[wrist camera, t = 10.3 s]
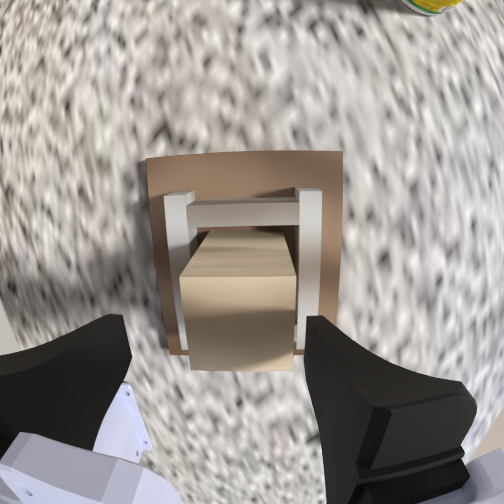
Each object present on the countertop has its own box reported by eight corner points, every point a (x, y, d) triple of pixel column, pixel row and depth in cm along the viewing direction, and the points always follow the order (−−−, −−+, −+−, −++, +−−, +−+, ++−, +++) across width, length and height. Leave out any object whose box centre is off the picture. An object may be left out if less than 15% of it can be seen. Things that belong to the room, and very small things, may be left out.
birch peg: (281, 295, 21) (292, 370, 13) (214, 295, 21) (191, 369, 13) (281, 229, 19) (296, 276, 12) (210, 230, 20) (179, 277, 12)
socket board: (329, 345, 23) (339, 373, 20) (172, 347, 23) (161, 374, 20) (338, 151, 19) (354, 150, 16) (151, 158, 19) (130, 159, 16)
